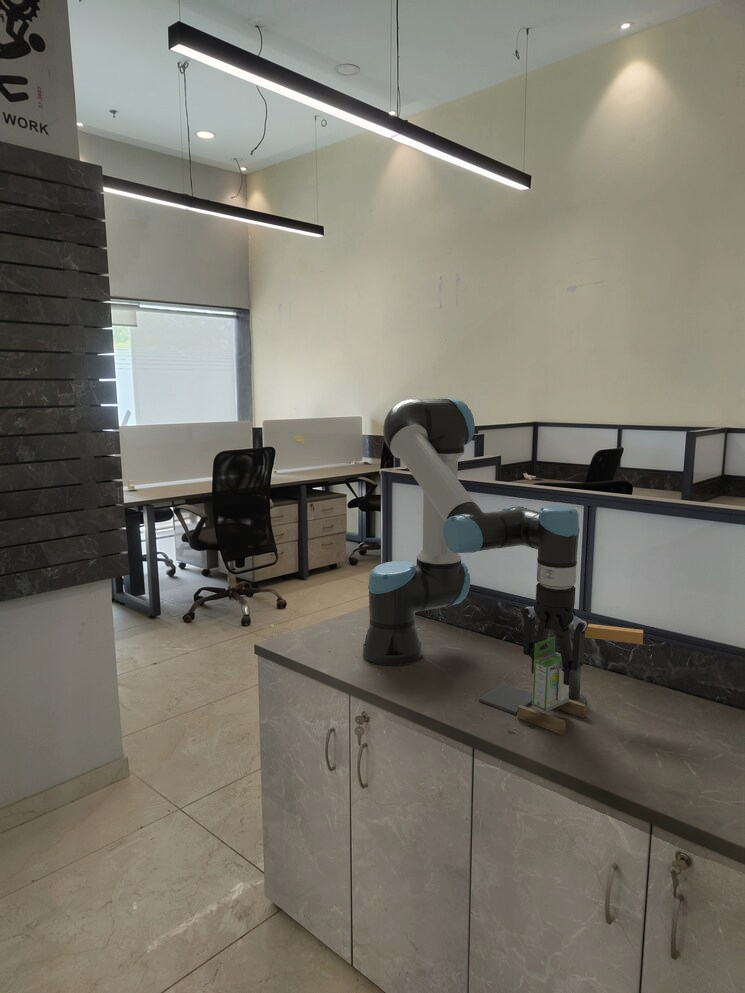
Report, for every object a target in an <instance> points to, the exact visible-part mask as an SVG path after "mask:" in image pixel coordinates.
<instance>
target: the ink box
mask: <svg viewBox="0 0 745 993" xmlns="http://www.w3.org/2000/svg"><path fill="white" fill-rule="evenodd" d="M556 637H557V636H556V635H554V636H551V637H549V638H548V637H547V639H545V640H543V641H540V642H537V643H535V642H534V644H535V654H534V657H535V659H534V674H533V681H532V683H533V684H532V693H533V697H532V704H531V705H532V706H533V707H536V708H538V709H540V710H542V711H544V712H545V713H547V712H550V711H552V710H554V709H556V707H558V706H561V705H563V704H565V703H567V702H568V699H569V685H568V696H567V697H566V698H565V699H563V700H562V701H560V700H558V685H559V669H560V668H562V667H563V664H562V658H561V653H560V652H556ZM544 644H545V645H547V644H550V646H548V647H546V648H545V647H544V649H543V650H539V649H540V647H541V646H543V645H544Z"/></svg>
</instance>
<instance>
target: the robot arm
mask: <svg viewBox="0 0 745 993" xmlns="http://www.w3.org/2000/svg"><path fill="white" fill-rule="evenodd" d="M475 426H476V425H475V419H474V414H473V413H472V411H471V409H470V408H469V405H467V404H466V402H465V401H463V400H460V399H455V398H447V397H445V398H418V399H416V398H410V399H409V398H407V399H404V400H402V401H400V402H397V403H396V404H394V406H392V408H391V409H390V410H389V411H388V413H387V415H386V416H385V419H384V423H383V428H382V431H383V432H382V433H383V439H384V442H385V445H386V446H387V448H388V450H389V451H390V453H391V454H392V455H393V456H394V457H395V458H397V459H400V460H401V461H402V463H404V465H405V467H406V468H407V470H408V471H409V473H410V474H411V475H412V477H413V478H414V480H415V481H416V482H417V483H418V485H419V487H420V488H421V490H422V491H423V497H422V498H423V499H422V504H423V505H422V549H421V551H420V552H419V553H418V554H417V555H416V565H415V564H414V563H413V562H411V561H407V560H398V561H397V560H393V561H387V562H384V563H381V564H379V565H377V566H375V567H374V568H372V570H371V571H370V573H369V577H368V578H369V579H368V588H367V590H368V605H369V607H368V608H369V611H368V613H369V625H368V629H367V631H366V635H365V640H364V642H363V645H362V656H363V658H364V659H365V660H367V661H369V662H370V663H374V664H377V665H382V666H403V665H404V666H405V665H408V664H412V663H414V662H417V661H418V660H420V658H422V656H423V655H422V654H423V645H422V643H421V641H420V638H419V634H418V630H417V627H416V613H417V612H422V611H428V610H429V611H430V610H434V609H441V608H449V607H451V606H454V605H459V604H461V603H462V602H463V601H464V600H465V599H466V598H467V597H468V593H469V591H470V588H471V576H470V573H469V568H468V566H467V564H466V563H465V562H464V561H463V560H462V555H460V554H466V553H467V554H468V553H469V554H472V553H476V552H481V551H488V550H489V551H490V550H494V549H495V550H497V549H504V548H513V547H518V546H519V547H520V546H522V547H523V546H525V547H528V548H531V549H534V550H537V558H536V560H537V563H536V564H537V566H536V581H537V583H536V586H535V587H536V588H535V602H536V603H535V605H534V606H531V605H529V606H526V607H524V608H522V609H521V613H522V618H523V644H522V646H523V647H522V650H523V652H522V653H523V654H524V655H525V656H528V657H530V659H531V670H530V671H531V674H532V675H534V659H535V657H534V654H535V643H537V642H540V641H543V640H545V639H548V636H549V632H550V630H553V631H555V636H556V637H557V638H558V645H559V651H560V652H559V653H560V654H561V658H562V664H563V667H562V668H560V669H559V685H558V700H560V701H562V700H563V699H565V698H566V697H567V696H568V685H570V684H571V683H572V678H573V670H577V669H579V668H580V667H581V668H582V667H583V665H584V655H585V640H586V637H585V631H586V629H587V627H588V625H589V624H590V623H589V620H587V619H584V620H583V619H581V618H579V617H578V616H577V614H576V611H575V605H576V587H575V585H576V584H577V565H578V563H577V562H578V548H579V546H578V545H579V536H580V535H579V534H580V516H579V511H578V510H577V509H576V508H574V507H572V506H569V505H568V506H567V505H559V504H549V505H543V506H542V507H540V509H539V511H537V510H533V509H529V508H527V507H524V506H514V505H508V506H506V507H504V508H503V509H501V510H500V511H491V512H490V511H489V512H483V510H482V509H481V508H480V506H479V505H478V504H477V503H476V502H475V500H474V499H473V498H472V496H471V495H470V494H469V493H468V491H467V490H466V489H465V487H464V485H463V484H462V483H461V482H460V480H459V479H458V475H459V474H458V470H459V469H458V467H459V466H458V465H459V464H458V463H459V459H460V458H461V457H462V456H463V455H464V454H465V446H466V445H468V444H469V443H470V442H472V440H473V438H474V437H475V436H474V435H475V430H476V429H475ZM536 616H537V618H538V620H539V624H538V627H537V634H536ZM572 622H573V623H574V627H573V628H574V629H575V631H574V639H573V654H572V648H571V642H570V636H569V633H570V628H569V625H570V624H571V623H572ZM535 634H536V635H535ZM545 646H546V644H544V645H543V646H541V647H540V649H539V650H543V649H545Z"/></svg>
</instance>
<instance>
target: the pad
mask: <svg viewBox="0 0 745 993" xmlns="http://www.w3.org/2000/svg"><path fill="white" fill-rule="evenodd" d="M532 697H533V692H532V691H531V692H530V691H527V690H525V689H521V688H519V687H516V686H513V685H510V684H506V683H501V685H499V686H497V687H495V688H494V689H492V690H491V691H489V692H487V693H486V694H484V695H483V696H480V697H479V698H478V701H479V702H481V703H484V704H486V705H489V706H491V707H494V708H496V709H499V710H502V711H505V712H507V713H511V714H513V715H517V713H518V706H519V705H522V706H525V707H529V706H530V705H532Z"/></svg>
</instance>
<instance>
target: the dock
mask: <svg viewBox="0 0 745 993" xmlns="http://www.w3.org/2000/svg"><path fill="white" fill-rule="evenodd" d="M570 642H571V648H572V654H573V638H570ZM581 674H582V667H580V668H579V669H577V670H573V678H572V683H571V684H570V685H569V699H568V702H567V703H565V704H563V705H561V706H558V707H556V708H555V709H556V710H560V711H562V712H565V713H568V714H571V715H574V716H577V717H579V718H583V719H584V718H585V717H586V716H587V704H586V703H587V697H586V696H585V695H583V694H582V693H581ZM516 715H517V719H519V720H521V721H524V722H527V723H530V724H533V725H535V726H538V727H541V728H544V729H546V730H548V731H552V732H553V733H554V732H555V733H557V734H560V735H562V736H563V735H565V734H566V729H567V728H566V726H567V723H566V722H567V721H566V720H565V719H562V718H558V717H555V716H553V715H551V714H548V713H546V712H543V711H539V710H536V709H533V708H531V707H529V706H527V707H525V706H522V705H519V706H518V713H517V714H516Z"/></svg>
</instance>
